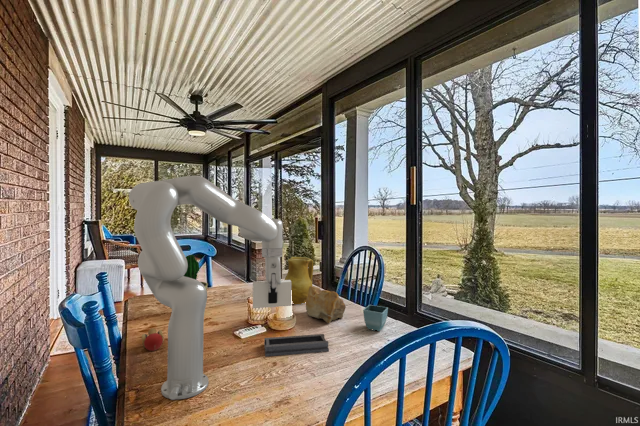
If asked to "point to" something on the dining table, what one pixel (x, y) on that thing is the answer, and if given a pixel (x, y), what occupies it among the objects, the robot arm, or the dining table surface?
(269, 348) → the floor track
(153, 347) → the kendama
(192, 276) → the potted cactus
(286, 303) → the door panel
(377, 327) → the flower pot
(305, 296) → the pitcher
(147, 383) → the dining table surface
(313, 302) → the rough brown rock
